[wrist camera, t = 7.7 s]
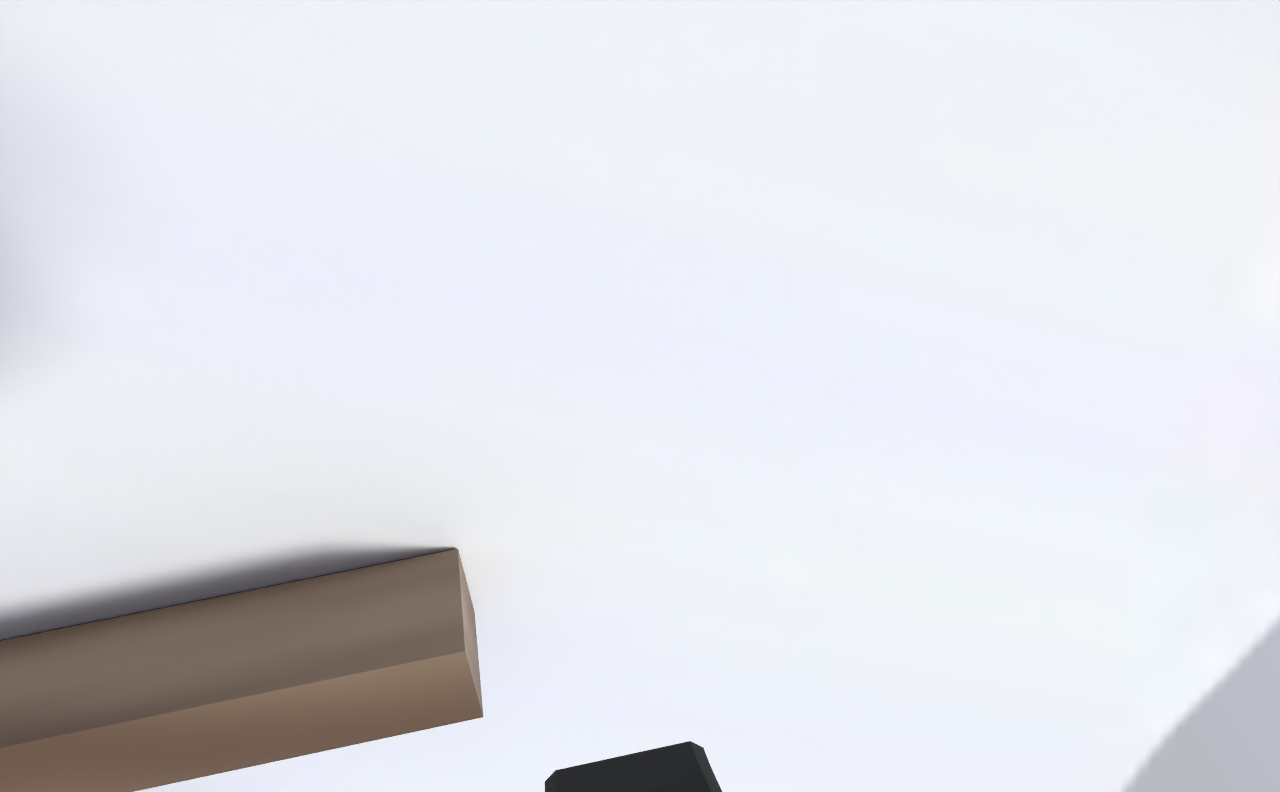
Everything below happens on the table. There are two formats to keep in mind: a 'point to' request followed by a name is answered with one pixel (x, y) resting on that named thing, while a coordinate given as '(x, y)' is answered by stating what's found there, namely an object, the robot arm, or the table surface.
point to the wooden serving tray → (240, 679)
